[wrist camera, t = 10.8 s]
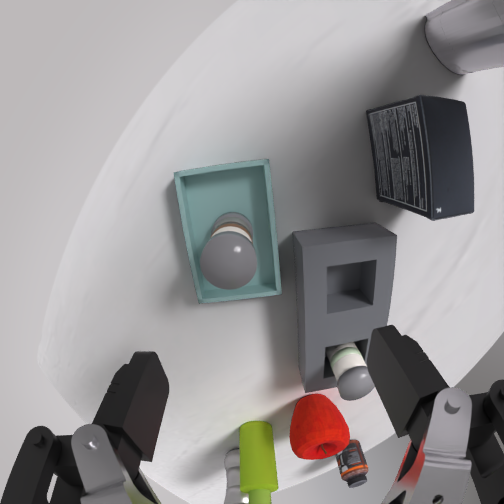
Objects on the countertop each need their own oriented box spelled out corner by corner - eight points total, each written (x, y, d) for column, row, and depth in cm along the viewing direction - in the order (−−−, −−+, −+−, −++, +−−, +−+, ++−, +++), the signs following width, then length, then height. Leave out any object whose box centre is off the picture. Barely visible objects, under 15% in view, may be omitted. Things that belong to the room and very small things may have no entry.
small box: (419, 195, 28) (477, 215, 18) (375, 201, 28) (430, 224, 18) (410, 110, 24) (468, 101, 15) (364, 109, 25) (417, 93, 15)
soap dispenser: (264, 415, 40) (272, 519, 21) (276, 432, 42) (286, 524, 23) (232, 421, 40) (230, 522, 21) (246, 438, 42) (249, 528, 24)
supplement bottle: (329, 447, 46) (340, 487, 35) (354, 435, 45) (367, 476, 34) (339, 453, 47) (349, 491, 37) (362, 443, 46) (374, 480, 36)
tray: (179, 171, 27) (173, 172, 24) (266, 159, 26) (268, 159, 24) (201, 292, 31) (198, 303, 29) (278, 283, 31) (281, 294, 29)
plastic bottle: (256, 457, 46) (260, 534, 27) (224, 457, 45) (222, 534, 27) (258, 445, 44) (263, 530, 25) (224, 444, 43) (221, 530, 24)
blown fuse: (209, 214, 28) (195, 240, 19) (250, 209, 28) (253, 233, 19) (215, 252, 29) (205, 292, 21) (254, 247, 29) (259, 286, 21)
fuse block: (292, 231, 29) (315, 268, 20) (375, 222, 29) (424, 252, 20) (299, 367, 36) (312, 422, 26) (363, 354, 36) (388, 402, 26)
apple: (291, 421, 41) (300, 471, 31) (278, 395, 38) (286, 451, 28) (339, 406, 40) (355, 454, 30) (332, 378, 37) (352, 432, 27)
